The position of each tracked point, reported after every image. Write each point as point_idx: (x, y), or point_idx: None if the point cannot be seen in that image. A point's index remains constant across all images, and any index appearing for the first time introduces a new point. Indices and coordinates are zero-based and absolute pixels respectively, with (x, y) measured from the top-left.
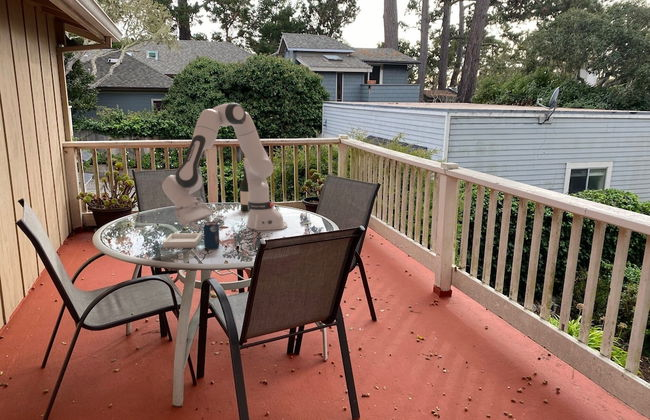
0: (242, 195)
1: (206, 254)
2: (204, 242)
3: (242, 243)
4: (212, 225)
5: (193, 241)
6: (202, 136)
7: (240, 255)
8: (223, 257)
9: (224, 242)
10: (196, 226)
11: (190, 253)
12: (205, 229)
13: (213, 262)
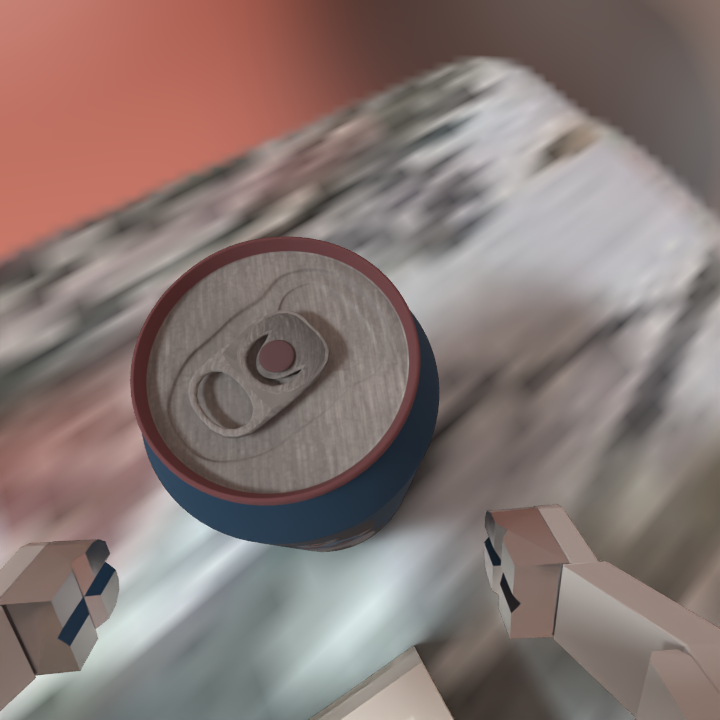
0: None
1: (525, 374)
2: (396, 509)
3: (82, 307)
4: (360, 270)
5: (435, 706)
6: None
7: (388, 152)
8: (498, 215)
9: (96, 480)
10: (594, 564)
11: (608, 543)
12: (436, 413)
13: (634, 205)
